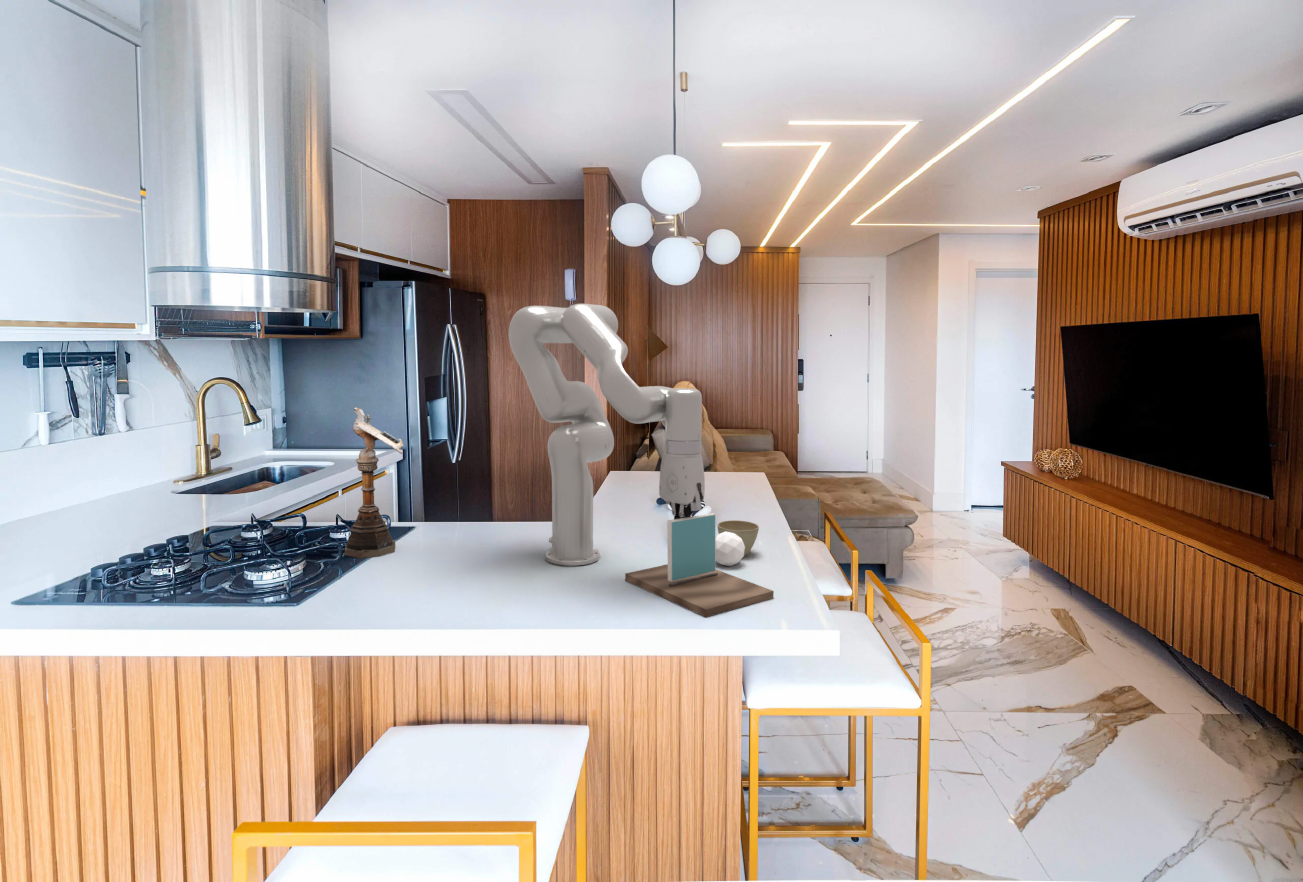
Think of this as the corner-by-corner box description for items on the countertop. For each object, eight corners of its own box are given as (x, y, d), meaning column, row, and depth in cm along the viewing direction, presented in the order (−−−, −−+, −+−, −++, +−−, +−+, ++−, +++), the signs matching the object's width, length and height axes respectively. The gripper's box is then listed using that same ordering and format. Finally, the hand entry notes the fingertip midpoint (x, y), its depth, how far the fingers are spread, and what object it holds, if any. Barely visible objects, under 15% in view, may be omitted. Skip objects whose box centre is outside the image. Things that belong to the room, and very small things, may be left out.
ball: (734, 578, 166) (744, 557, 161) (702, 563, 167) (711, 542, 162) (743, 554, 172) (753, 533, 166) (712, 541, 173) (721, 519, 167)
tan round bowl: (711, 556, 173) (712, 527, 172) (723, 546, 182) (724, 518, 181) (752, 561, 170) (753, 532, 169) (762, 551, 179) (763, 522, 178)
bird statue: (417, 539, 184) (413, 402, 180) (417, 553, 172) (413, 407, 167) (346, 544, 179) (341, 403, 175) (342, 559, 167) (335, 407, 162)
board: (625, 580, 155) (625, 571, 154) (689, 565, 166) (689, 557, 165) (705, 617, 134) (706, 606, 134) (773, 598, 145) (773, 588, 145)
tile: (667, 520, 146) (671, 521, 145) (711, 513, 154) (715, 514, 153) (667, 580, 148) (671, 581, 147) (711, 570, 155) (715, 571, 154)
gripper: (647, 445, 154) (646, 529, 156) (692, 453, 142) (691, 544, 145) (674, 442, 159) (673, 524, 161) (721, 450, 147) (719, 538, 149)
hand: (682, 533), depth 153 cm, fingers closed
